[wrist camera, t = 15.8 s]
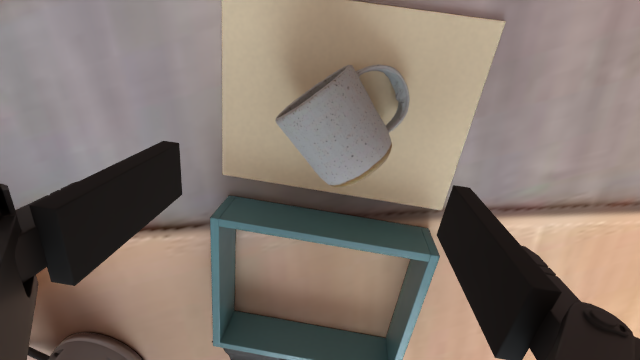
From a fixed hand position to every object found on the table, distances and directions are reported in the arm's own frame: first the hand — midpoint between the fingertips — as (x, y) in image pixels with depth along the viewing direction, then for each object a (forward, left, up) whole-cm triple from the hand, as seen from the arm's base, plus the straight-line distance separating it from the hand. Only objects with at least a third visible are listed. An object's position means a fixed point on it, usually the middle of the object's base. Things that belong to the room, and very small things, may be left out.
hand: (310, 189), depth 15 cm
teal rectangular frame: (+1, -20, -17) cm, 26 cm away
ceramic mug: (+1, +1, -17) cm, 17 cm away
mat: (+1, +1, -17) cm, 17 cm away
